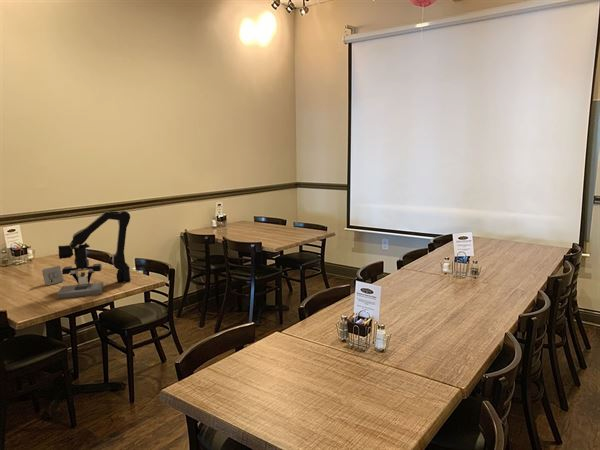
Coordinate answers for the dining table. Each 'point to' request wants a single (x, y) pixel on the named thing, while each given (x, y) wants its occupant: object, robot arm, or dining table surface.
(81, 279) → the plug
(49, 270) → the electrical switch
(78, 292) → the socket plate
